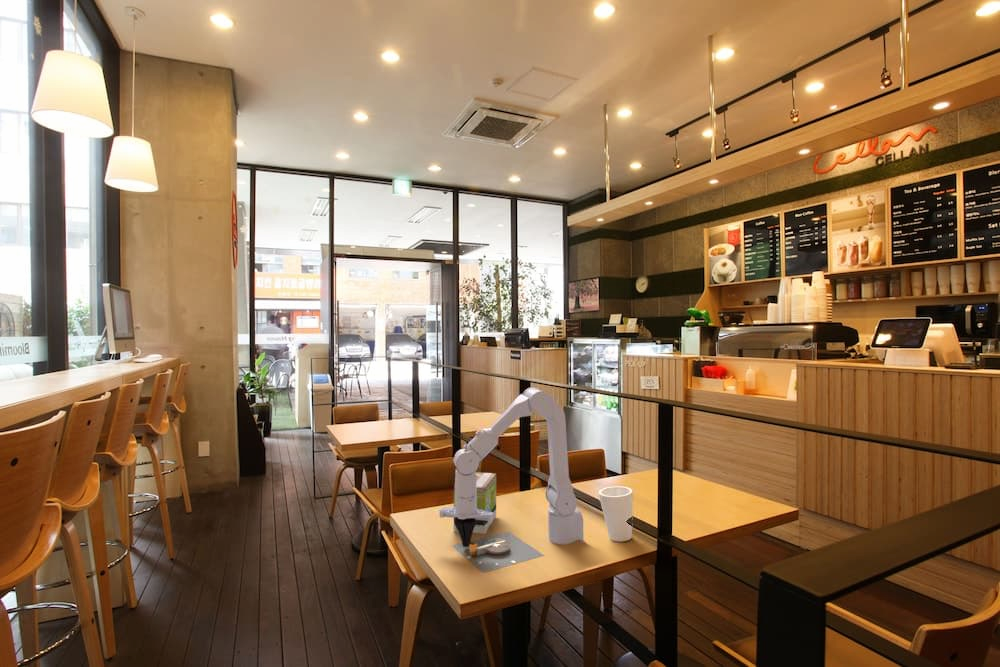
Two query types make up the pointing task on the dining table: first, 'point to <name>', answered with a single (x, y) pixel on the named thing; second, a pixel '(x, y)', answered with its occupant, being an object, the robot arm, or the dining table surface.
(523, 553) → the panel
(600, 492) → the foam cup
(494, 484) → the tea box
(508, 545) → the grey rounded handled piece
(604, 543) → the dining table surface
